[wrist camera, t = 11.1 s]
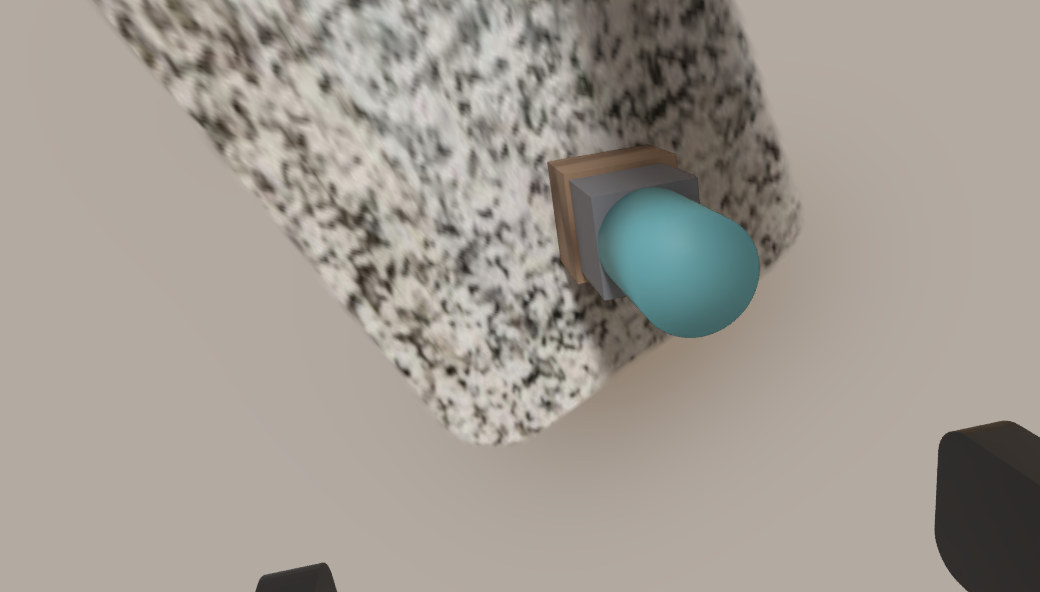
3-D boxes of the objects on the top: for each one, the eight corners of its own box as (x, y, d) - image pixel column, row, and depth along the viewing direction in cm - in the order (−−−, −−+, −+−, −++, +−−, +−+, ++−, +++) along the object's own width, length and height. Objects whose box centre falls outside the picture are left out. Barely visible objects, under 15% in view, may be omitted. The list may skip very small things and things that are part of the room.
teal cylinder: (592, 197, 33) (629, 225, 27) (698, 179, 33) (757, 203, 28) (603, 300, 34) (641, 348, 29) (704, 282, 35) (761, 325, 29)
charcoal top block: (568, 180, 37) (590, 197, 33) (662, 162, 38) (697, 176, 33) (581, 271, 39) (604, 300, 34) (671, 254, 39) (705, 280, 35)
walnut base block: (546, 161, 42) (563, 174, 37) (647, 144, 43) (676, 154, 38) (560, 260, 44) (577, 284, 39) (656, 242, 44) (684, 264, 40)
